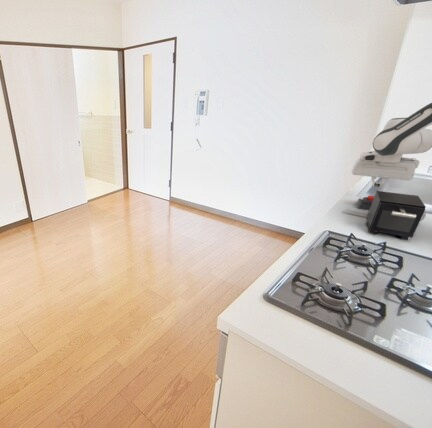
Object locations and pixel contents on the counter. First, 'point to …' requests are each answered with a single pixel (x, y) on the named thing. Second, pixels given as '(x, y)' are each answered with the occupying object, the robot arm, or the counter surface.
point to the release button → (370, 198)
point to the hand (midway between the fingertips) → (376, 186)
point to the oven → (394, 199)
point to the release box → (364, 203)
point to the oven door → (397, 219)
